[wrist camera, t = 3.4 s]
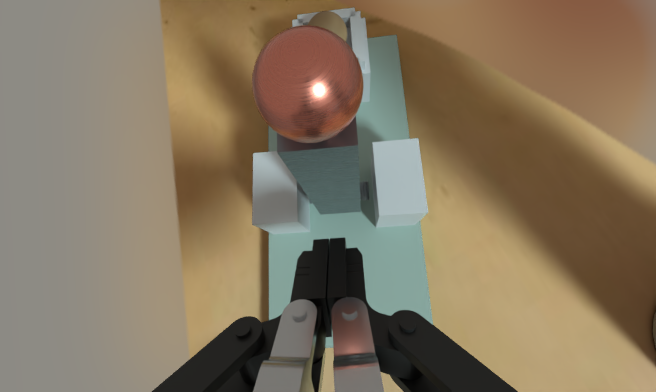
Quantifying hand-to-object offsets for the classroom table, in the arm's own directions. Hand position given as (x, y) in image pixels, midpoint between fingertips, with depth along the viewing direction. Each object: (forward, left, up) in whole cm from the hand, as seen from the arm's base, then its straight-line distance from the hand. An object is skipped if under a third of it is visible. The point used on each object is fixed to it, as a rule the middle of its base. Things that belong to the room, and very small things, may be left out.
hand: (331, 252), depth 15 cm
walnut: (0, -16, -6) cm, 17 cm away
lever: (0, -5, -8) cm, 9 cm away
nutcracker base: (0, -7, -12) cm, 14 cm away
